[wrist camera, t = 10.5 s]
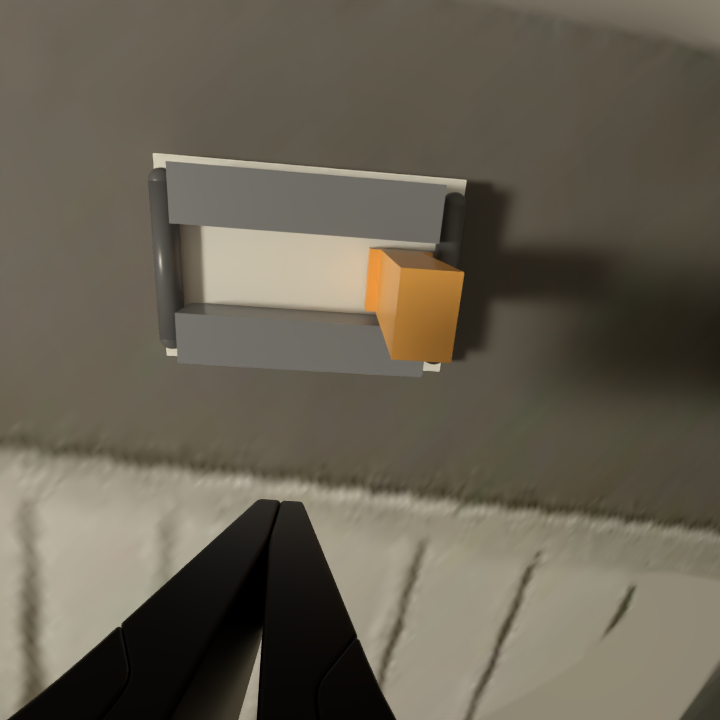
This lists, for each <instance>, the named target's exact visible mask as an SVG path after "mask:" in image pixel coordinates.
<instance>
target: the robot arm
mask: <svg viewBox="0 0 720 720" xmlns="http://www.w3.org/2000/svg"><path fill="white" fill-rule="evenodd" d="M261 638H262V645H261V660H260V676H259V692H258V708H257V720H396V718H395V716H394V714H393V712H392V710H391V708H390V707H389V705H388V703H387V701H386V699H385V697H384V695H383V693H382V691H381V689H380V687H379V684H378V682H377V680H376V678H375V676H374V673H373V671H372V669H371V667H370V665H369V662H368V660H367V658H366V655H365V653H364V650H363V648H362V645H361V643H360V641H359V640H358V639H357V634H356V631H355V629H354V627H353V624H352V622H351V619H350V617H349V614H348V612H347V610H346V607H345V605H344V602H343V600H342V597H341V595H340V592H339V590H338V588H337V585H336V583H335V580H334V578H333V575H332V573H331V571H330V568H329V566H328V563H327V561H326V558H325V556H324V553H323V551H322V549H321V546H320V544H319V541H318V539H317V536H316V534H315V532H314V529H313V527H312V524H311V522H310V519H309V517H308V515H307V512H306V510H305V507H304V505H303V503H302V502H296V501H283V502H281V503H280V502H279V501H278V500H266V499H260V500H257V501H256V502H255V503H254V504H253V505H252V506H251V507H250V508H248V509H247V510H246V511H245V512H244V513H243V514H242V515H241V516H240V517H239V518H237V519H236V520H235V521H234V522H233V523H232V524H231V525H230V526H229V527H227V528H226V529H225V530H224V531H223V532H222V533H221V534H220V535H219V536H218V537H216V538H215V539H214V540H213V541H212V542H211V543H210V544H209V545H208V546H207V547H205V548H204V549H203V550H202V551H201V552H200V553H199V554H198V555H197V556H195V557H194V558H193V559H192V560H191V561H190V562H189V563H188V564H187V565H186V566H184V567H183V568H182V569H181V570H180V571H179V572H178V573H177V574H176V575H174V576H173V577H172V578H171V579H170V580H169V581H168V582H167V583H166V584H165V585H163V586H162V587H161V588H160V589H159V590H158V591H157V592H156V593H155V594H154V595H152V596H151V597H150V598H149V599H148V600H147V601H146V602H145V603H144V604H142V605H141V606H140V607H139V608H138V609H137V610H136V611H135V612H134V613H133V614H131V615H130V616H129V617H128V618H127V619H126V620H125V621H124V622H123V623H122V625H121V627H117V628H116V629H115V630H113V631H112V632H111V633H110V634H109V635H108V636H107V637H106V638H105V639H104V640H102V641H101V642H100V643H99V644H98V645H97V646H96V647H95V648H93V649H92V650H91V651H90V652H89V653H88V654H87V655H85V656H84V657H83V658H82V659H81V660H80V661H78V662H77V663H76V664H75V665H74V666H73V667H72V668H70V669H69V670H68V671H67V672H66V673H65V674H63V675H62V676H61V677H60V678H59V679H58V680H56V681H55V682H54V683H53V684H51V685H50V686H49V687H48V688H46V689H45V690H44V691H43V692H41V693H40V694H39V695H38V696H36V697H35V698H34V699H33V700H31V701H30V702H29V703H28V704H26V705H25V706H24V707H23V708H21V709H20V710H19V711H18V712H16V713H15V714H14V715H13V716H11V717H10V718H9V719H7V720H238V719H239V715H240V712H241V708H242V705H243V701H244V698H245V694H246V691H247V687H248V684H249V680H250V677H251V673H252V670H253V666H254V663H255V659H256V656H257V652H258V649H259V645H260V642H261Z"/></svg>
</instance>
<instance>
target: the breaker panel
mask: <svg viewBox="0 0 720 720" xmlns="http://www.w3.org/2000/svg"><path fill="white" fill-rule="evenodd" d="M153 162H154V169H153V170H152V171H151V172H150V174H149V176H148V186H149V199H150V213H151V227H152V240H153V254H154V267H155V281H156V295H157V308H158V322H159V335H160V341H161V343H162V344H163V345H164V346H165V347H166V351H167V355H168V356H177V358H178V363H181V364H198V365H215V366H233V367H250V368H267V369H285V370H302V371H319V372H337V373H354V374H371V375H388V376H406V377H422V373H423V371H440V365H441V362H424V361H408V360H391V357H390V354H389V351H388V348H387V345H386V342H385V339H384V336H383V333H382V330H381V327H380V324H379V321H378V318H377V315H376V312H372V311H365V308H364V301H365V288H366V276H367V263H368V250H369V247H375V248H389V249H402V250H415V251H428V252H430V253H433V256H432V257H433V258H435V259H437V260H439V261H441V262H444V263H446V264H448V265H450V266H452V267H454V268H456V269H458V264H459V257H460V250H461V243H462V236H463V229H464V222H465V215H466V208H467V202H466V199H465V197H464V195H465V188H466V181H467V180H461V179H450V178H438V177H426V176H415V175H403V174H392V173H380V172H368V171H357V170H345V169H333V168H322V167H310V166H298V165H287V164H275V163H263V162H252V161H240V160H228V159H217V158H205V157H193V156H182V155H170V154H159V153H153Z"/></svg>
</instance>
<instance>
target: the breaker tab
mask: <svg viewBox="0 0 720 720" xmlns="http://www.w3.org/2000/svg"><path fill="white" fill-rule="evenodd" d="M432 256H433V253H430V252H428V251H415V250H402V249H389V248H375V247H369V250H368V263H367V276H366V288H365V301H364V308H365V311H372V312H376V315H377V318H378V321H379V324H380V327H381V330H382V333H383V336H384V339H385V342H386V345H387V348H388V351H389V354H390V357H391V360H408V361H424V362H441V363H451V359H452V352H453V346H454V339H455V332H456V326H457V319H458V312H459V306H460V299H461V292H462V286H463V279H464V272H463V271H461V270H459V269H456V268H454V267H452V266H450V265H448V264H446V263H444V262H441V261H439V260H437V259H435V258H433V257H432Z"/></svg>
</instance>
